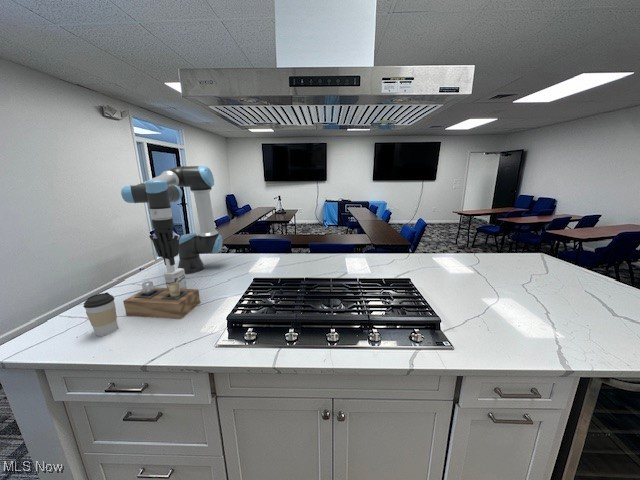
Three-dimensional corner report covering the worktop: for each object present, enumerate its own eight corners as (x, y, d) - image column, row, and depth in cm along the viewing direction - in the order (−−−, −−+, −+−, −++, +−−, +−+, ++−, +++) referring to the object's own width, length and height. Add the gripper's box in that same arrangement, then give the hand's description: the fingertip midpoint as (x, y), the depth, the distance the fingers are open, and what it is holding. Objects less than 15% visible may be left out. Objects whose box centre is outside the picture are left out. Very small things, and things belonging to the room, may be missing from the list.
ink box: (175, 295, 127) (172, 274, 124) (167, 295, 128) (163, 273, 125) (187, 288, 135) (184, 268, 132) (179, 287, 136) (176, 267, 133)
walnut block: (151, 300, 123) (148, 286, 121) (200, 302, 120) (198, 288, 118) (126, 315, 109) (122, 300, 107) (181, 318, 106) (178, 302, 104)
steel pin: (149, 295, 116) (146, 281, 114) (157, 295, 116) (154, 281, 114) (142, 299, 112) (139, 284, 110) (150, 299, 112) (147, 285, 110)
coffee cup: (97, 340, 93) (87, 304, 89) (87, 333, 97) (77, 298, 93) (125, 327, 100) (117, 293, 96) (114, 321, 104) (106, 289, 101)
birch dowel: (175, 296, 114) (172, 282, 113) (183, 296, 114) (180, 282, 112) (169, 300, 111) (166, 286, 109) (177, 300, 110) (174, 286, 108)
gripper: (140, 220, 100) (151, 274, 106) (170, 220, 99) (179, 275, 104) (154, 217, 108) (163, 268, 113) (182, 217, 106) (190, 269, 112)
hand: (171, 272), depth 109 cm, fingers closed
